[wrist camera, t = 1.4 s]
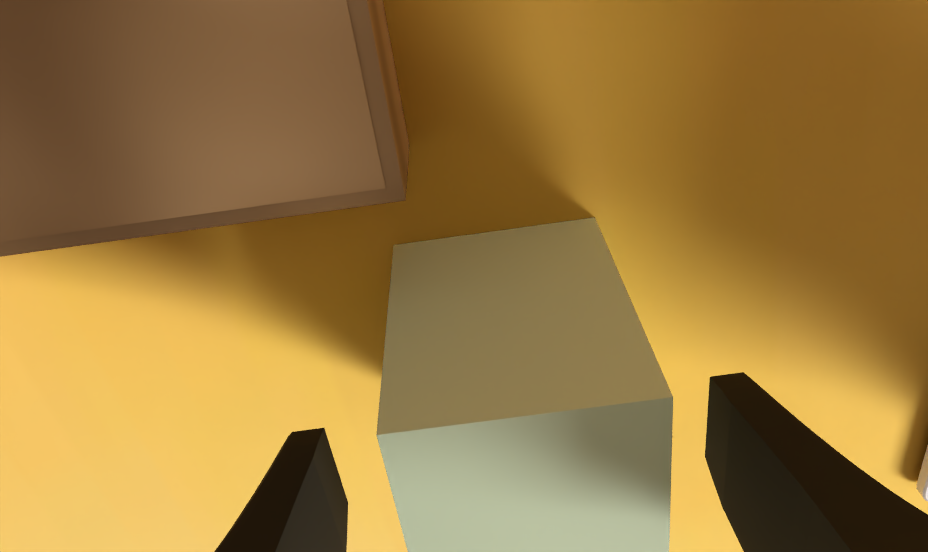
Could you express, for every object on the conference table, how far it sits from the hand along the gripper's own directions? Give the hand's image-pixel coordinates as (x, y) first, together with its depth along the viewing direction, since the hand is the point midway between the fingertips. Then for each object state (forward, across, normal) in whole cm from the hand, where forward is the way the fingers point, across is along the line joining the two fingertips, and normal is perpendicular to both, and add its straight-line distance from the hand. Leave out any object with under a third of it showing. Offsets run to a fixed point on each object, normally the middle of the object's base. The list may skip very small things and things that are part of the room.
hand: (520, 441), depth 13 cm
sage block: (+4, 0, 0) cm, 4 cm away
